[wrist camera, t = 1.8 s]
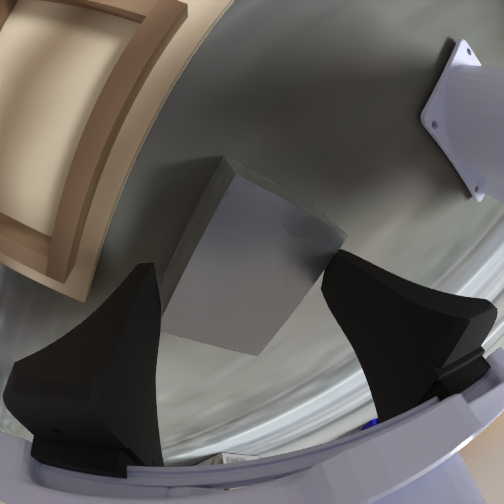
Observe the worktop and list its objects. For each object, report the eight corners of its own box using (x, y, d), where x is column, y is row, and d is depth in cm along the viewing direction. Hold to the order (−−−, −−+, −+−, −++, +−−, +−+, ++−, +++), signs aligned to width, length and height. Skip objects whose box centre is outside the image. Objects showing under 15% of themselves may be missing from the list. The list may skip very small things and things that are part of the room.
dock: (233, 2, 8) (244, -22, 6) (90, 289, 13) (77, 322, 11) (40, -42, 3) (19, -58, 1) (-52, 214, 9) (-76, 233, 6)
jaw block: (310, 202, 14) (347, 236, 10) (243, 304, 16) (257, 356, 13) (223, 154, 12) (235, 174, 9) (161, 276, 14) (156, 329, 11)
